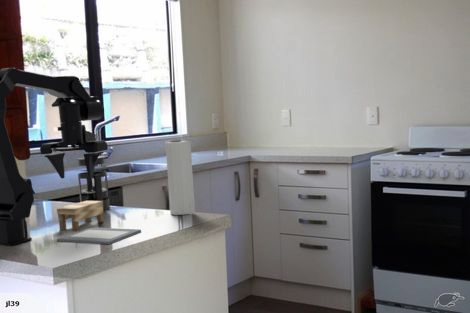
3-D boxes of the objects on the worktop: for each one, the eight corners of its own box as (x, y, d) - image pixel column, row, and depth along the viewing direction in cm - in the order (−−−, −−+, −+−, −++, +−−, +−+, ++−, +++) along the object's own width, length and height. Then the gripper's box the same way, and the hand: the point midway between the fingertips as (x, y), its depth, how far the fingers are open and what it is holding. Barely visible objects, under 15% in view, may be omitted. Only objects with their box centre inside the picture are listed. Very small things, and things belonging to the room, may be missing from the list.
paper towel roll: (167, 213, 174) (162, 141, 172) (187, 210, 176) (182, 139, 175) (175, 217, 168) (170, 142, 166) (195, 214, 170) (190, 140, 168)
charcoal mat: (109, 244, 138) (109, 241, 138) (57, 241, 145) (56, 238, 145) (141, 231, 150) (140, 229, 150) (91, 229, 157) (91, 227, 157)
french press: (76, 209, 191) (70, 139, 189) (104, 205, 196) (99, 136, 193) (86, 214, 181) (79, 140, 179) (115, 210, 185) (109, 137, 183)
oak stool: (76, 231, 156) (74, 208, 156) (58, 230, 159) (56, 208, 158) (104, 221, 167) (102, 200, 166) (87, 221, 169) (86, 200, 169)
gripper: (115, 118, 167) (120, 173, 168) (60, 122, 173) (66, 174, 175) (93, 121, 156) (98, 179, 158) (35, 124, 163) (42, 180, 165)
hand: (76, 178), depth 164 cm, fingers open, 9 cm apart
